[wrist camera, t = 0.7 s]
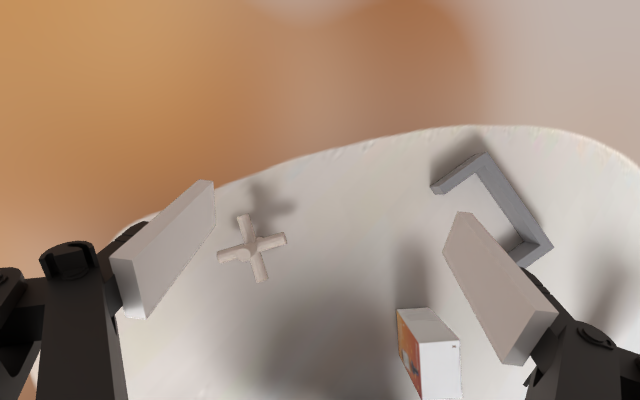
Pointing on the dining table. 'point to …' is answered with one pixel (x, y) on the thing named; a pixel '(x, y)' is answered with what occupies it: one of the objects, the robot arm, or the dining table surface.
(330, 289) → the dining table surface
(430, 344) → the small box
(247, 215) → the pipe connector
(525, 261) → the square bracket
